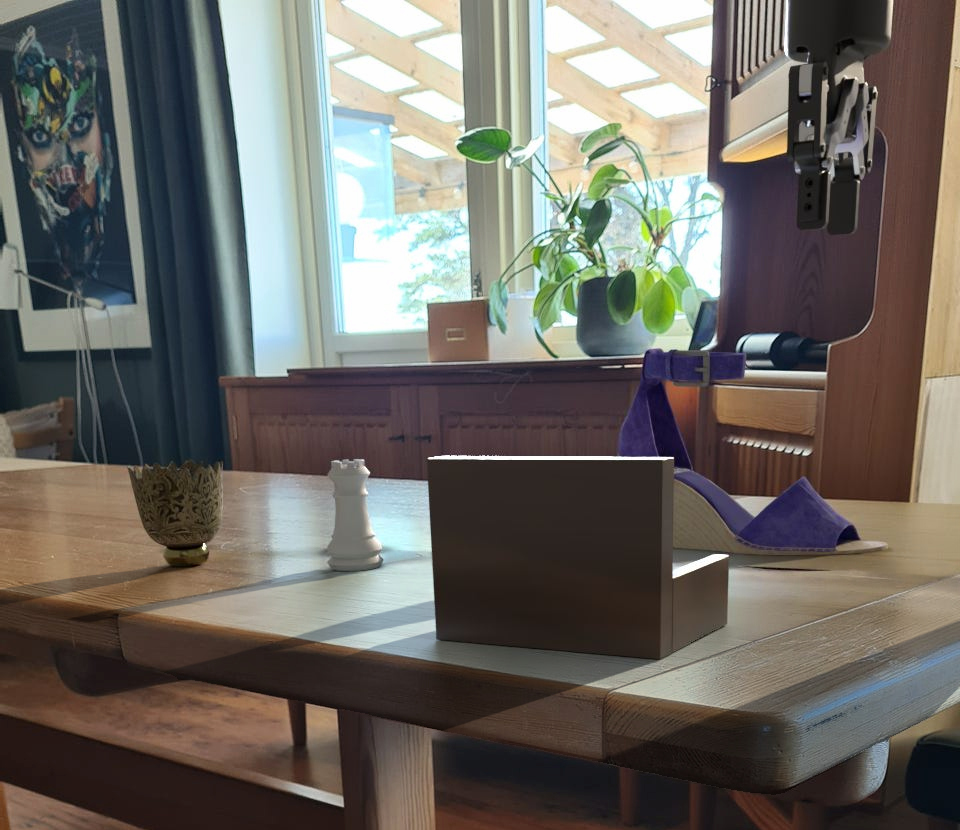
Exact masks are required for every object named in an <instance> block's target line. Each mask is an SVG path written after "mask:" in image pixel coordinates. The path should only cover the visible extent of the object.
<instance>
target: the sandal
mask: <svg viewBox="0 0 960 830" xmlns="http://www.w3.org/2000/svg"><path fill="white" fill-rule="evenodd" d="M746 364H747V354H746V353H743V352H721V351H719V352H718V351H709V350H705V349H704V350H700V349H699V350H697V349H696V350H692V349H691V350H689V349H688V350H686V349H685V350H683V349H682V350H681V349H679V350H678V349H677V348H676V349H669V350H668V351H664V350H663V348H649V349H646V351H645V352H644V355H643V359H642V365H641V371H640V380H639V384H638V387H637V390H636V392H635V394H634V398H633V400H632V402H631V405H630V408H629V410H628V412H627V415H626V417H625V418H624V421H623V423H622V425H621V427H620V431H619V436H618V443H617V444H618V445H617V446H618V448H617V453H616V457H674V510H673V549H691V550H702V551H703V550H704V551H713V552H714V551H715V552H723V553H731V554H732V553H733V554H742V555H743V554H744V555H762V556H763V555H764V556H765V555H767V556H816V555H818V556H821V555H851V554H853V555H854V554H867V553H876V552H882V551H886V550H888V549H889V546H888V545H889V544H888V543H887V542H883V541H878V540H871V539H861V537H860V535H859V532H858V530H857V528H856V526H855V525H854V524H853V523H852V522H851V521H849V519H846V518H845V517H844V516H842V514H840V513H839V512H837V511H836V510H835V509H834V508H833V507H832V506H831V505H830V504H829V503H828V502H827V501H826V500H825V499H824V498H823V497H822V496H820V495H821V494H820V495H819V493H818V492H817V491H816V490H815V489H814V487H813V486H812V484H811V483H810V482H809V480H808V479H807V477H806V476H802V477H800V479H798V480H796V481H795V482H794V483H793V484H791V485H790V486H789V487H788V488H787V489H785V490H784V491H783V492H782V493H780V494H779V495H778V496H777V497H776V498H775V499H773V500H772V501H771V502H770V503H768V505H766V506H764V507H763V509H762V510H761V511H760V512H759V513H757V515H756V516H754V515H753V514H752V513H750V512H749V511H748V510H747V509H746V508H745V507H743V505H741V504H740V503H739V502H738V501H737V500H736V499H734V498H733V497H732V496H731V495H730V494H729V493H727V492H726V491H725V490H724V489H722V488H721V487H719V486H718V485H717V484H715V483H714V482H713V481H711V479H708V478H706V477H705V476H704V475H702V474H699V473H698V472H696V471H694V468H693V465H692V462H691V460H690V456H689V453H688V451H687V448H686V445H685V442H684V439H683V437H682V433H681V431H680V428H679V425H678V423H677V419H676V416H675V414H674V412H673V408H672V406H671V403H670V401H669V397H668V395H667V390H666V388H665V384H664V382H663V381H669V382H672V384H673V386H675V387H686V388H706V387H707V386H709V385H710V381H731V380H742V379H743V380H744V379H745V376H746V375H745V373H746ZM742 567H745V568H753V569H759V570H765V571H767V570H768V571H781V572H823V571H825V572H826V571H829V569H815V568H813V569H812V568H793V567H773V566H754V565H753V566H752V565H742Z"/></svg>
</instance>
